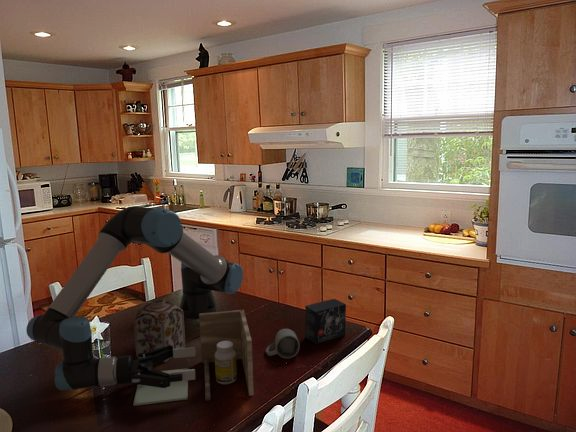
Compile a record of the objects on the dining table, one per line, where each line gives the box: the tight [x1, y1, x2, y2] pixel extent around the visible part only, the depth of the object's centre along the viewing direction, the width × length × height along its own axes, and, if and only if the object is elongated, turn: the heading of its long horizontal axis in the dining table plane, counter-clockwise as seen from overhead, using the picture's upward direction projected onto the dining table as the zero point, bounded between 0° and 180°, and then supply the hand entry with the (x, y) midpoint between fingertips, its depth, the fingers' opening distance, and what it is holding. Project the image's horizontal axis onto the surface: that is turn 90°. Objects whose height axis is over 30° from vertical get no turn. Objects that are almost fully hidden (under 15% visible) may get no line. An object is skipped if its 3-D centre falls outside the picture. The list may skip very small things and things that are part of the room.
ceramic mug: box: [265, 328, 301, 360], centre depth 148 cm, size 11×8×8 cm
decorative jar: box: [133, 298, 186, 363], centre depth 149 cm, size 12×12×18 cm
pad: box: [133, 367, 189, 406], centre depth 130 cm, size 16×14×1 cm
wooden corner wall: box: [199, 309, 255, 402], centre depth 133 cm, size 23×14×16 cm, turn 11°
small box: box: [304, 298, 347, 345], centre depth 159 cm, size 13×7×12 cm, turn 123°
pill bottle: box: [214, 341, 238, 385], centre depth 132 cm, size 6×6×11 cm
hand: (195, 362), depth 130 cm, fingers open, 13 cm apart
